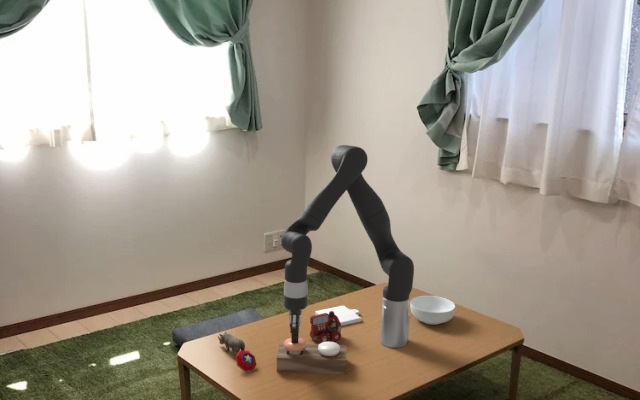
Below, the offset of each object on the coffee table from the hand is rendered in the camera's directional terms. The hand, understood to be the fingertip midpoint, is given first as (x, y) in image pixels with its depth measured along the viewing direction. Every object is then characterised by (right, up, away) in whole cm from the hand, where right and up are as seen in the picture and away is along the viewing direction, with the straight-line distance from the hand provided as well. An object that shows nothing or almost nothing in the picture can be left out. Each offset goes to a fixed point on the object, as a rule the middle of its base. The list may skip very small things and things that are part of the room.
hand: (294, 342), depth 200 cm
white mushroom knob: (+11, -8, +2) cm, 13 cm away
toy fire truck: (+10, -4, +20) cm, 22 cm away
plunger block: (+5, -8, +2) cm, 10 cm away
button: (-16, -8, -1) cm, 18 cm away
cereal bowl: (+51, 0, +37) cm, 63 cm away
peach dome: (0, -6, +2) cm, 6 cm away
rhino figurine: (-22, -5, +10) cm, 25 cm away
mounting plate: (+15, 0, +37) cm, 40 cm away
